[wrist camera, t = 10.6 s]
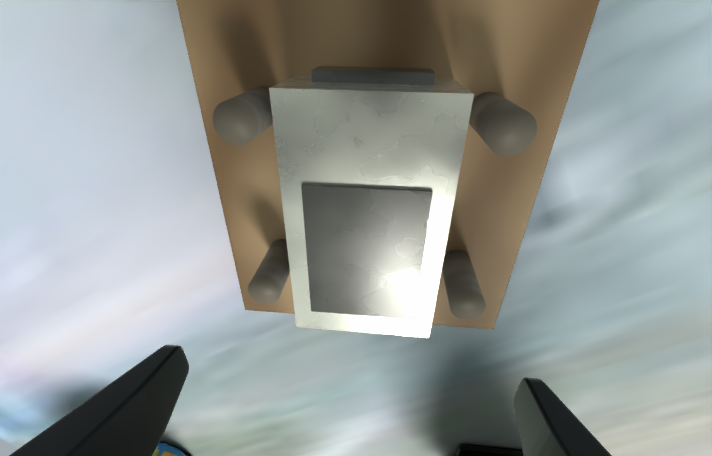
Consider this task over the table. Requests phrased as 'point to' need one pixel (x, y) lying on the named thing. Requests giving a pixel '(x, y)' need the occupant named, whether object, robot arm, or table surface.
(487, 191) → the wooden peg board
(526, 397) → the robot arm
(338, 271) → the drive
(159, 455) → the snack cup
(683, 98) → the table surface
